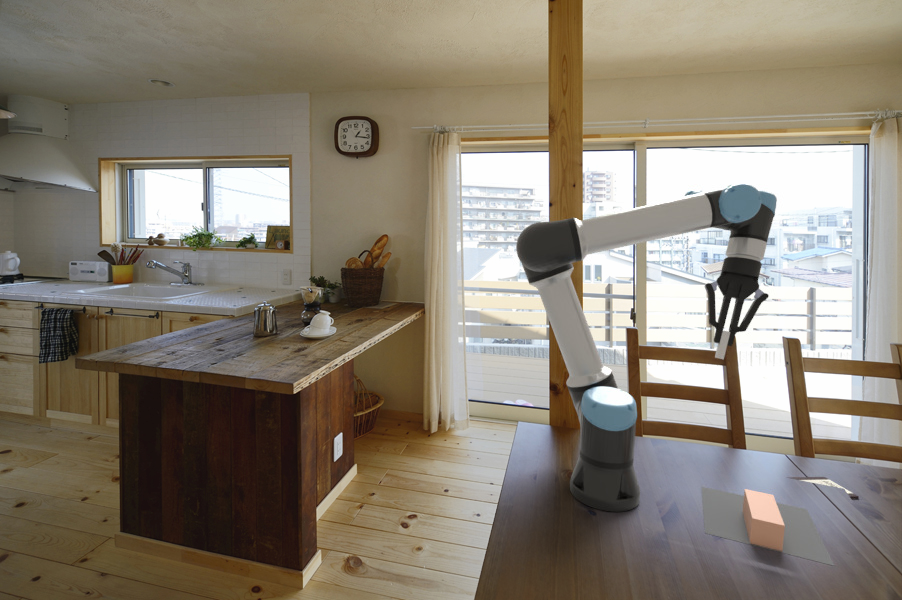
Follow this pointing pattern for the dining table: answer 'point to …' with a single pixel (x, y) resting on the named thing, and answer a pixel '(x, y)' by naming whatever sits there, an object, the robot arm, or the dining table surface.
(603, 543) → the dining table surface
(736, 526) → the mat
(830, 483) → the chocolate bar
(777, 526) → the block
